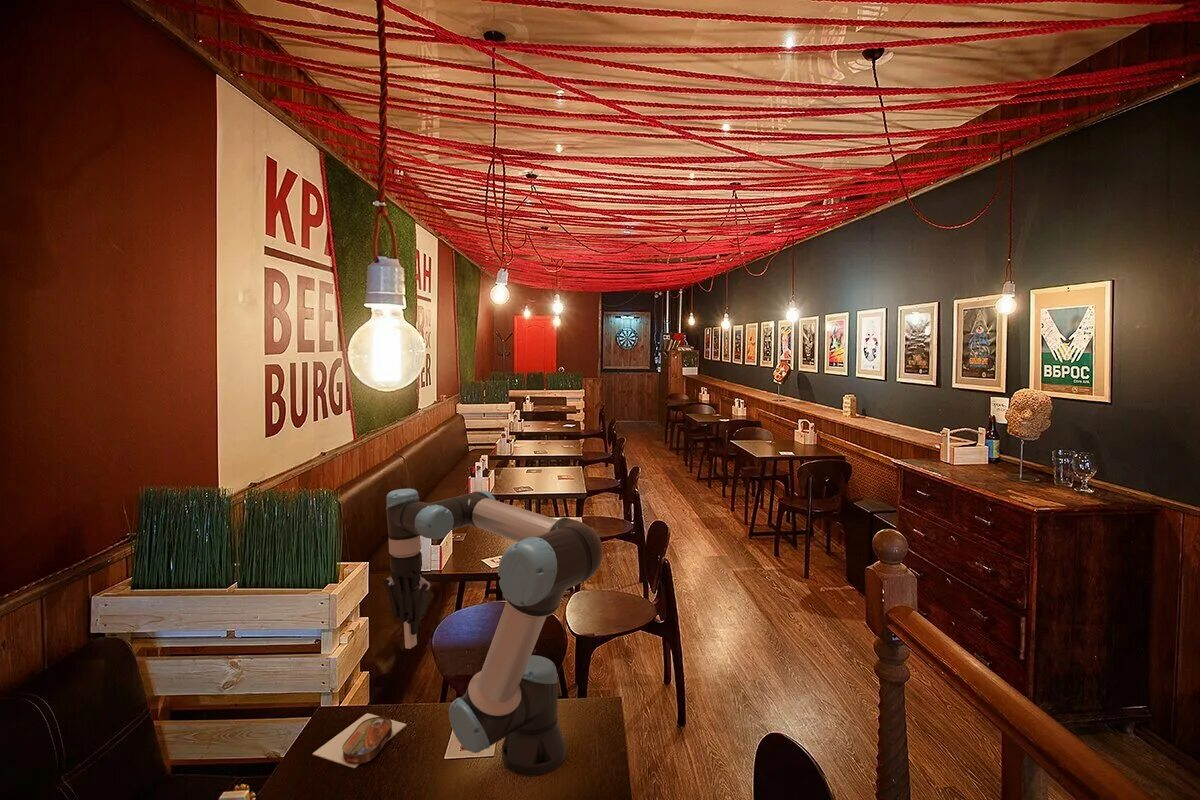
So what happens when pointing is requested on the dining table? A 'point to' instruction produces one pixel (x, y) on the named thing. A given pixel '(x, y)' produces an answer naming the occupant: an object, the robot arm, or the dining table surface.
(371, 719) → the tin
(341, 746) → the placemat
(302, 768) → the dining table surface
